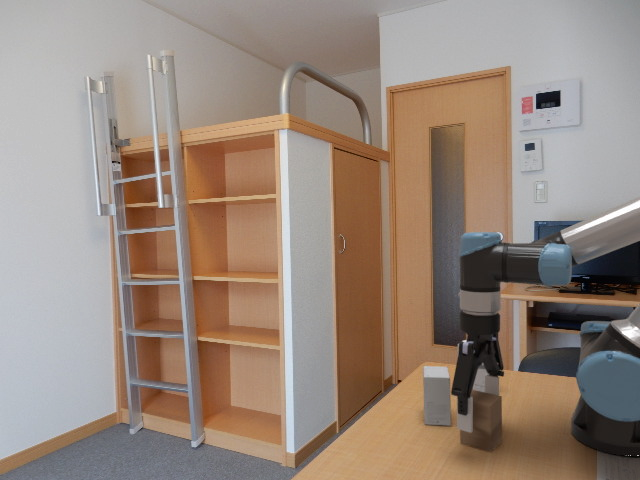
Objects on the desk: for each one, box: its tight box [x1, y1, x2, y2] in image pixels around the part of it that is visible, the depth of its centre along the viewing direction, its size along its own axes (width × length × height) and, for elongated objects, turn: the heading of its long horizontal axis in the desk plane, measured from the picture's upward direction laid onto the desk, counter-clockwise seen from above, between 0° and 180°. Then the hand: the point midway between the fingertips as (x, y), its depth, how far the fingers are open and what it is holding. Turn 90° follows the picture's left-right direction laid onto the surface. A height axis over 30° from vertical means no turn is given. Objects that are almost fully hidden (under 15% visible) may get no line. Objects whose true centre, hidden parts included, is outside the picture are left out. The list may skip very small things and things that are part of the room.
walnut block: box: [459, 390, 503, 453], centre depth 93 cm, size 6×6×9 cm
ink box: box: [457, 339, 489, 392], centre depth 121 cm, size 9×5×12 cm, turn 55°
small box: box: [422, 365, 452, 427], centre depth 104 cm, size 8×6×10 cm
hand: (479, 418), depth 93 cm, fingers open, 13 cm apart
